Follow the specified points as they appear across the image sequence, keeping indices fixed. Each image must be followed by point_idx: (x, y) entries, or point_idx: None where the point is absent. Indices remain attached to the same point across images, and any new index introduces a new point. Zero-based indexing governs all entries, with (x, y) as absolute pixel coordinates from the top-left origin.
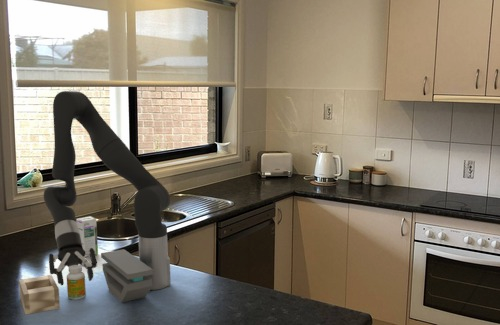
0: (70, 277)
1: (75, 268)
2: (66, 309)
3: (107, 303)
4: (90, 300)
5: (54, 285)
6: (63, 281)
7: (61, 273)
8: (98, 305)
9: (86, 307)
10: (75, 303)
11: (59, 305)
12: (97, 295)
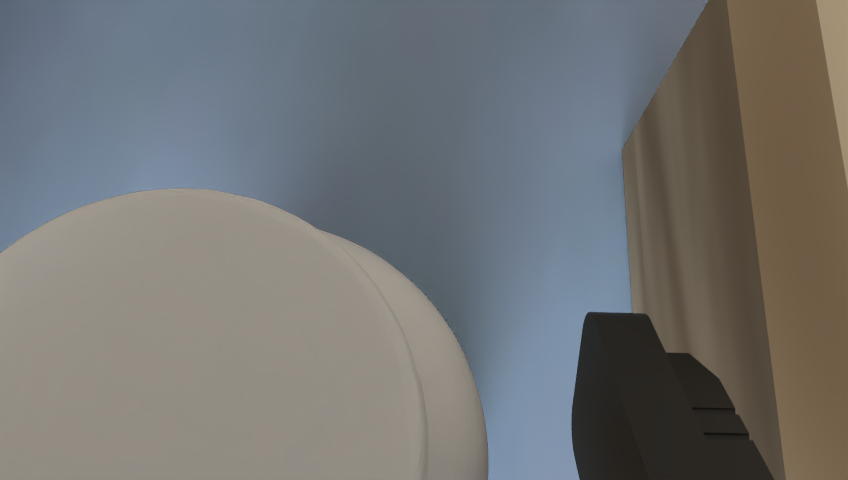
0: (419, 297)
1: (210, 212)
2: (549, 75)
3: (58, 16)
4: None
5: (802, 198)
6: (592, 315)
7: (669, 473)
8: (173, 10)
9: (317, 20)
10: (406, 208)
11: (634, 133)
12: None
